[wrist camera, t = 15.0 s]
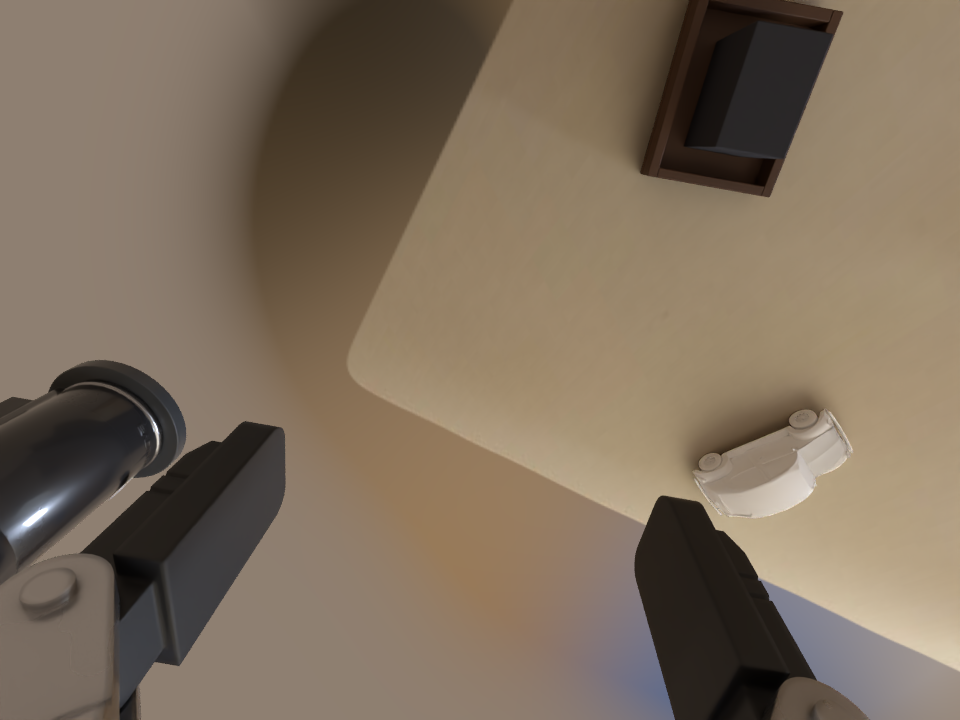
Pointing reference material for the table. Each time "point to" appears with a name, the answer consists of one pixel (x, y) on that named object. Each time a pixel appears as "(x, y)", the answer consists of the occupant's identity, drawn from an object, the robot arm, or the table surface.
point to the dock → (709, 18)
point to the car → (774, 467)
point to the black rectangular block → (757, 90)
